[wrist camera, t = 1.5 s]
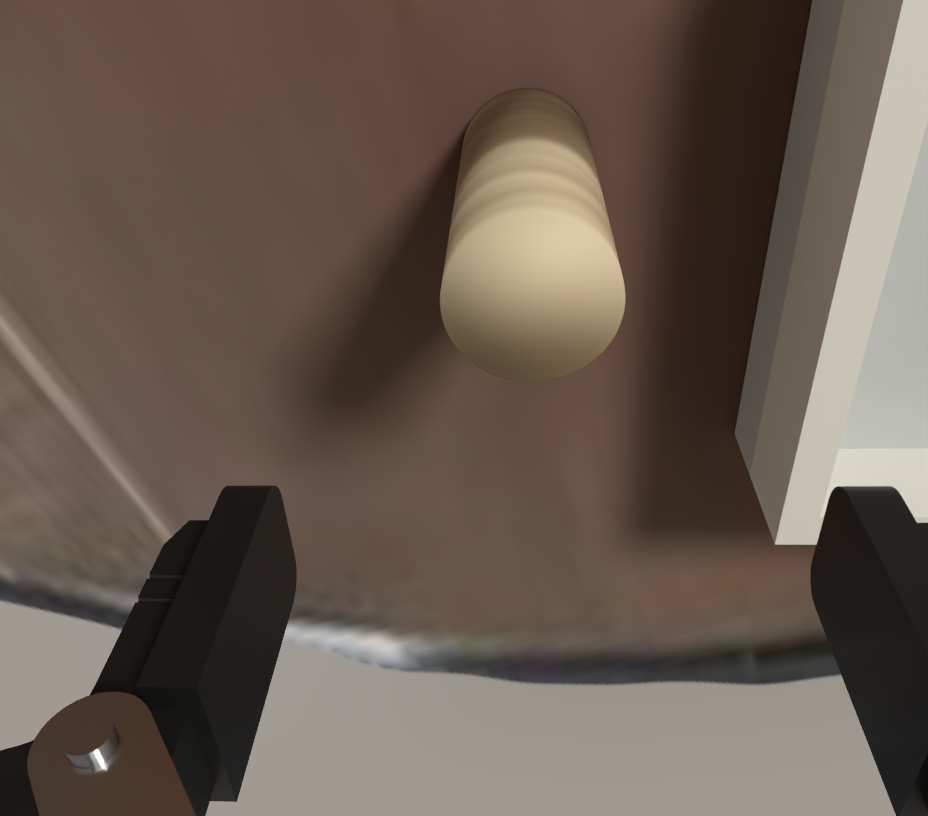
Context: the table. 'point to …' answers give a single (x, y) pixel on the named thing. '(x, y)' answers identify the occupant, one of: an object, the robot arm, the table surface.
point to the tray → (845, 276)
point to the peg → (530, 243)
